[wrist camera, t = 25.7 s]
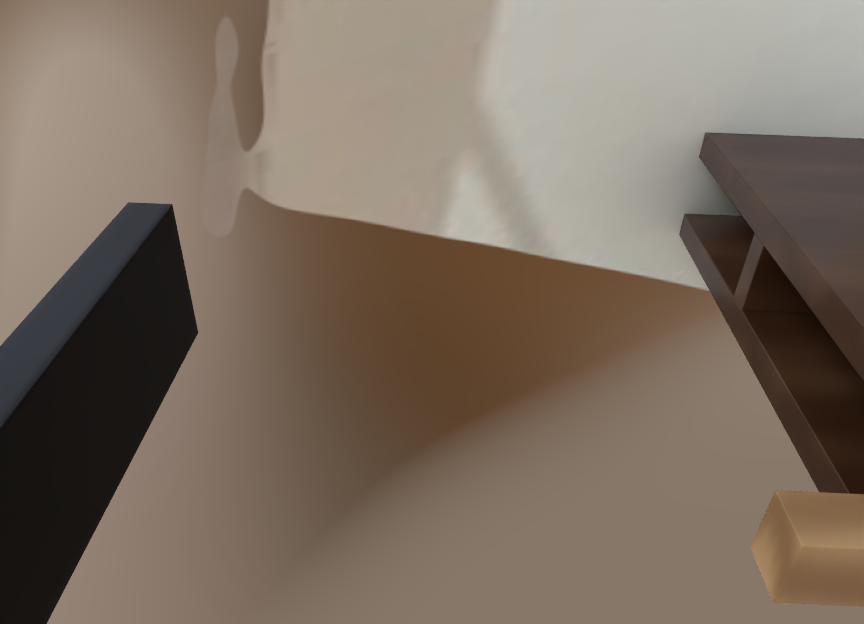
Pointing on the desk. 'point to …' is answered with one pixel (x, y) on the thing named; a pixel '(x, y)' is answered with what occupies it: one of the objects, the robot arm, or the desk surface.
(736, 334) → the shelf
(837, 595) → the tan block
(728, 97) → the desk surface
